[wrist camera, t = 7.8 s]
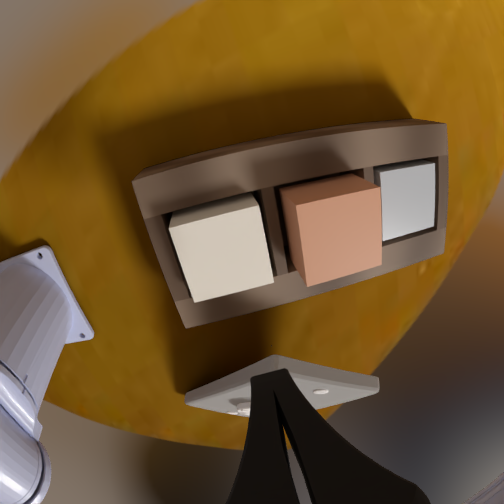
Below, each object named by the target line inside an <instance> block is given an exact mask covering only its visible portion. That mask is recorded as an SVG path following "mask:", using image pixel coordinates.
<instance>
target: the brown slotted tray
mask: <svg viewBox="0 0 504 504" xmlns="http://www.w3.org/2000/svg"><path fill="white" fill-rule="evenodd" d="M414 159H423V160H426V161H430V162H433V163H435V212H434V226H433V227H430V228H426V229H423V230H420V231H416V232H413V233H409V234H406V235H403V236H399V237H396V238H392V239H389V240H385V241H382V265H379V266H376V267H373V268H370V269H367V270H363V271H360V272H357V273H354V274H350V275H347V276H344V277H340V278H337V279H333V280H330V281H327V282H323V283H320V284H316V285H313V286H309V287H307V286H306V284H305V283H304V281H303V279H302V278H301V276H300V274H299V273H298V271H297V269H296V268H295V266H294V264H293V263H292V261H291V259H290V252H289V246H288V240H287V234H286V228H285V222H284V216H283V210H282V204H281V199H280V193H279V189H280V188H284V187H289V186H293V185H298V184H302V183H307V182H312V181H317V180H322V179H326V178H331V177H337V176H342V175H347V174H354V175H356V176H358V177H360V178H362V179H365V180H367V181H369V182H371V183H373V184H374V174H373V166H377V165H383V164H389V163H395V162H401V161H408V160H414ZM132 185H133V188H134V191H135V194H136V197H137V200H138V204H139V207H140V210H141V213H142V216H143V219H144V222H145V225H146V228H147V230H148V233H149V236H150V239H151V242H152V245H153V247H154V250H155V253H156V256H157V258H158V261H159V264H160V266H161V269H162V272H163V274H164V277H165V279H166V282H167V284H168V287H169V290H170V292H171V295H172V297H173V300H174V302H175V304H176V307H177V309H178V312H179V314H180V316H181V319H182V321H183V323H184V326H185V328H190V327H195V326H199V325H203V324H208V323H212V322H216V321H220V320H224V319H228V318H232V317H236V316H240V315H244V314H248V313H252V312H256V311H260V310H263V309H267V308H271V307H275V306H278V305H282V304H286V303H289V302H293V301H296V300H300V299H303V298H307V297H310V296H314V295H317V294H321V293H324V292H328V291H331V290H334V289H337V288H341V287H344V286H347V285H351V284H354V283H357V282H360V281H363V280H366V279H370V278H373V277H376V276H379V275H382V274H385V273H388V272H391V271H394V270H397V269H400V268H403V267H406V266H409V265H412V264H414V263H417V262H420V261H423V260H426V259H429V258H431V257H434V256H437V255H440V254H442V253H444V245H445V235H446V223H447V206H448V141H447V125H446V123H440V122H434V121H427V120H420V119H400V120H387V121H376V122H366V123H357V124H349V125H341V126H333V127H326V128H319V129H313V130H306V131H300V132H294V133H289V134H283V135H278V136H272V137H267V138H262V139H257V140H252V141H248V142H243V143H239V144H234V145H230V146H225V147H221V148H217V149H213V150H209V151H205V152H201V153H197V154H193V155H190V156H186V157H182V158H179V159H175V160H171V161H168V162H164V163H161V164H158V165H154V166H151V167H148V168H145V169H143V170H142V171H141V172H140V173H139V174H138V175H137V176H136V177H135V178H134V179H133V180H132ZM246 192H251V194H252V195H253V197H254V198H255V200H256V202H257V203H258V205H259V208H260V213H261V218H262V223H263V228H264V233H265V238H266V243H267V248H268V253H269V258H270V264H271V269H272V274H273V279H274V283H271V284H267V285H263V286H259V287H255V288H252V289H248V290H244V291H240V292H236V293H232V294H228V295H224V296H220V297H216V298H212V299H208V300H204V301H200V302H196V303H194V300H193V297H192V294H191V292H190V289H189V286H188V283H187V281H186V278H185V275H184V272H183V269H182V266H181V264H180V261H179V258H178V255H177V252H176V249H175V246H174V243H173V240H172V237H171V234H170V231H169V225H170V221H171V217H172V214H173V211H176V210H179V209H183V208H187V207H190V206H194V205H198V204H202V203H205V202H209V201H213V200H217V199H221V198H225V197H229V196H233V195H237V194H241V193H246Z"/></svg>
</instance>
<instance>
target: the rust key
mask: <svg viewBox="0 0 504 504" xmlns="http://www.w3.org/2000/svg"><path fill="white" fill-rule="evenodd" d="M279 193H280V199H281V204H282V210H283V216H284V222H285V228H286V234H287V240H288V246H289V252H290V259H291V261H292V263H293V264H294V266H295V268H296V269H297V271H298V273H299V274H300V276H301V278H302V279H303V281H304V283H305V284H306V286H307V287H309V286H313V285H316V284H320V283H323V282H327V281H330V280H333V279H337V278H340V277H344V276H347V275H350V274H354V273H357V272H360V271H363V270H367V269H370V268H373V267H376V266H379V265H382V216H381V191H380V187H379V186H377V185H375V184H373V183H371V182H369V181H367V180H365V179H362V178H360V177H358V176H356V175H354V174H347V175H342V176H337V177H331V178H326V179H322V180H317V181H312V182H307V183H302V184H298V185H293V186H289V187H284V188H280V189H279Z"/></svg>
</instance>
